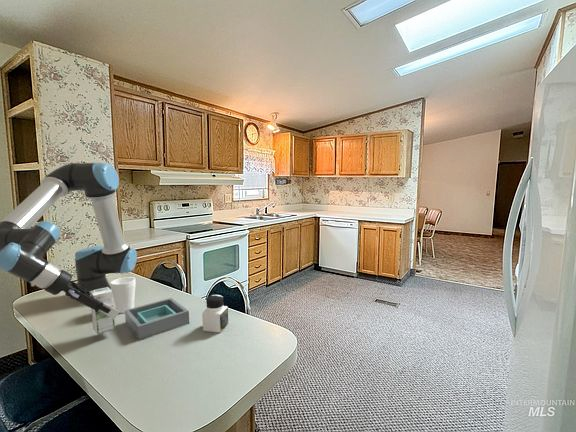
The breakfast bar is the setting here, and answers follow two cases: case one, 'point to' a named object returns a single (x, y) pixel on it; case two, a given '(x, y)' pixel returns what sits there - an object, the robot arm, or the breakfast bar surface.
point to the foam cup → (123, 293)
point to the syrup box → (100, 319)
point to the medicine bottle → (215, 314)
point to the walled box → (156, 318)
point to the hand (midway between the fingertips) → (114, 311)
